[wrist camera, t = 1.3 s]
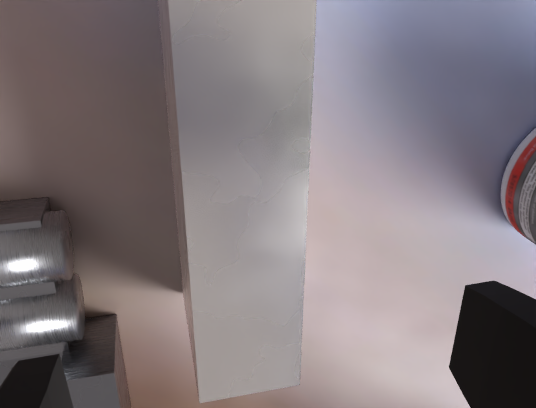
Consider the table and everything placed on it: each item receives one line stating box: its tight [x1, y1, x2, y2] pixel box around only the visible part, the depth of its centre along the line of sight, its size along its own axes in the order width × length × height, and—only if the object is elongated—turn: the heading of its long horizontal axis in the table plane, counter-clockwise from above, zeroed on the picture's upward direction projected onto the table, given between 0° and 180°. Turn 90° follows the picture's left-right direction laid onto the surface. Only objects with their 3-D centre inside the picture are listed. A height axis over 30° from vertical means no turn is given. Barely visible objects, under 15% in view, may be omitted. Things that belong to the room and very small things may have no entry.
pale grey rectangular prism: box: [158, 0, 317, 403], centre depth 15 cm, size 3×11×6 cm, turn 179°
